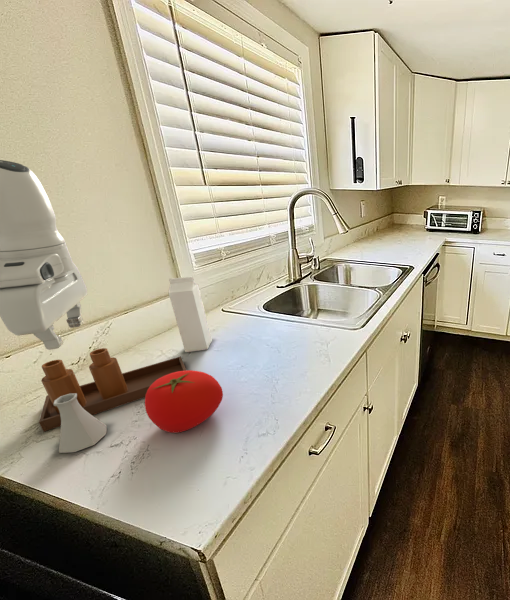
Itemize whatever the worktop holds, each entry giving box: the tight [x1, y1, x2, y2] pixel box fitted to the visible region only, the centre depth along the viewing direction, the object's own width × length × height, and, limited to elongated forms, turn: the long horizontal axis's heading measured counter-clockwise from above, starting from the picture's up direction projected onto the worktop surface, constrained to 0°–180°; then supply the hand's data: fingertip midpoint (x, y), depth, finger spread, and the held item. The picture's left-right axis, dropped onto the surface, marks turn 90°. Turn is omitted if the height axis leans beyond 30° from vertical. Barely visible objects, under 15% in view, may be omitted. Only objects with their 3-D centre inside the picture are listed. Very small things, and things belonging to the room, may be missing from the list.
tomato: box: [144, 369, 224, 434], centre depth 67 cm, size 12×14×11 cm
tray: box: [38, 355, 187, 432], centre depth 78 cm, size 26×11×2 cm, turn 130°
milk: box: [168, 276, 213, 353], centre depth 96 cm, size 6×6×22 cm
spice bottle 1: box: [40, 359, 87, 414], centre depth 71 cm, size 5×5×12 cm
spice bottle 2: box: [88, 347, 128, 400], centre depth 75 cm, size 5×5×12 cm
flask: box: [54, 393, 108, 454], centre depth 63 cm, size 7×7×10 cm
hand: (67, 335), depth 60 cm, fingers open, 8 cm apart
